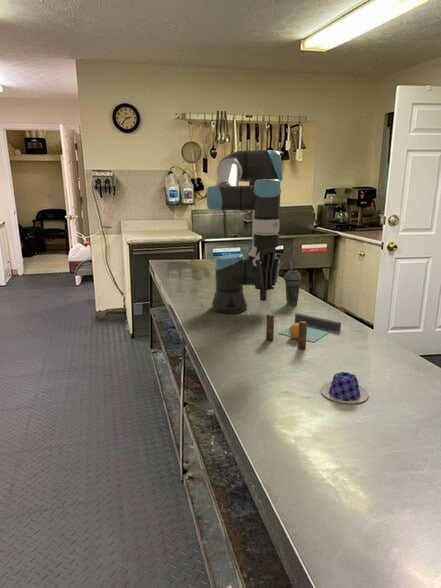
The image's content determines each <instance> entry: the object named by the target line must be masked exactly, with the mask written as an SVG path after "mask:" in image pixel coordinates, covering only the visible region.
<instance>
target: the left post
mask: <svg viewBox="0 0 441 588" xmlns="http://www.w3.org/2000/svg"><path fill="white" fill-rule="evenodd" d="M265 321H266V323H265V325H266V326H265V330H266V331H265V335H266V336H265V340H266V341H268V342H273V341H274V335H275V334H274V333H275V330H274V329H275V315H274V313H268V314H266V319H265Z"/></svg>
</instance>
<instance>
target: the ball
mask: <svg viewBox="0 0 441 588" xmlns="http://www.w3.org/2000/svg"><path fill="white" fill-rule="evenodd" d="M289 328H290V329H289V333H290V335H291V336H292V337H291V338H294V339H296V340H298V333H299V323H298V322H294V323H293V324H291V326H289Z"/></svg>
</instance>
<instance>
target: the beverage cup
mask: <svg viewBox="0 0 441 588" xmlns="http://www.w3.org/2000/svg"><path fill="white" fill-rule="evenodd" d="M289 263H290V269H289V270H288V271H287V272H286V273H285V276H284V284H285V297H286V299H285V300H286V305H287V306H291V307H292V306H293V307H294V306H297V305H298V301H299V293H300V286H301V285H300V284H301V282H302V277H301V276H302V275H301V273H300V272H299V271H298V270H297V269H293V264H292V259H290V262H289Z"/></svg>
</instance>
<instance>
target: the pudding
mask: <svg viewBox="0 0 441 588" xmlns="http://www.w3.org/2000/svg"><path fill="white" fill-rule="evenodd" d="M320 391H321V393H322V395H324V396H325V398H328V399H329V400H330V401H333V402H338V403H342V404H359V403H362V402H365V401H366V400H368V398H369V392H368V391H367V389H365V388H364V387H363V386H361V385H359V381H358V377H357V376H356V375H355V374H353V373H350V372H347V371H346V372H344V371H339V372H336V373H335V374H334V375H333V378H332V380H331V381H329V382H327V383H325V384H323V385H322V386H321V387H320ZM331 396H332V397H331ZM358 398H359V399H358ZM341 399H342V400H341ZM343 401H345V402H343Z"/></svg>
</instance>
